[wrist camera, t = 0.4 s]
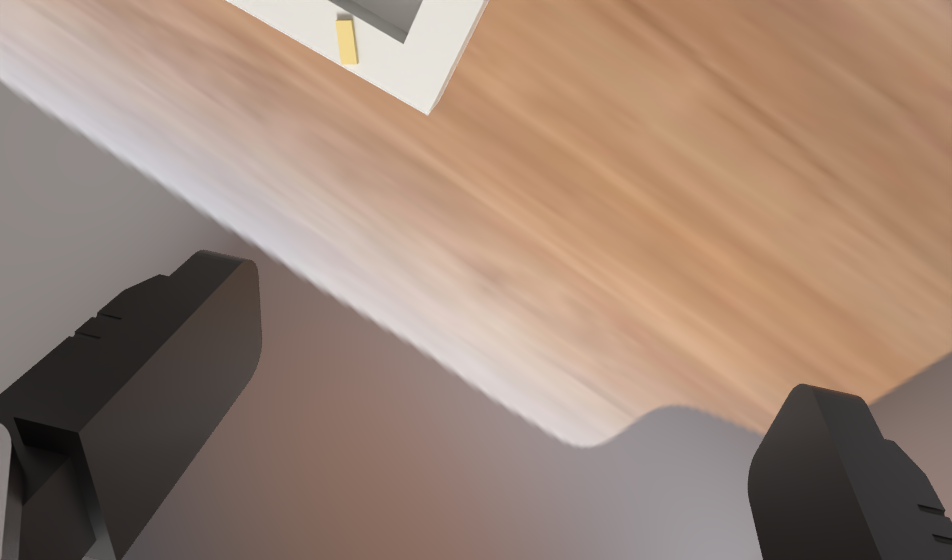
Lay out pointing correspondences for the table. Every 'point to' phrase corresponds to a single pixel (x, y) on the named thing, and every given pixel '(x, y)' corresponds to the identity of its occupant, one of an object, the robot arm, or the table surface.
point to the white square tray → (381, 38)
